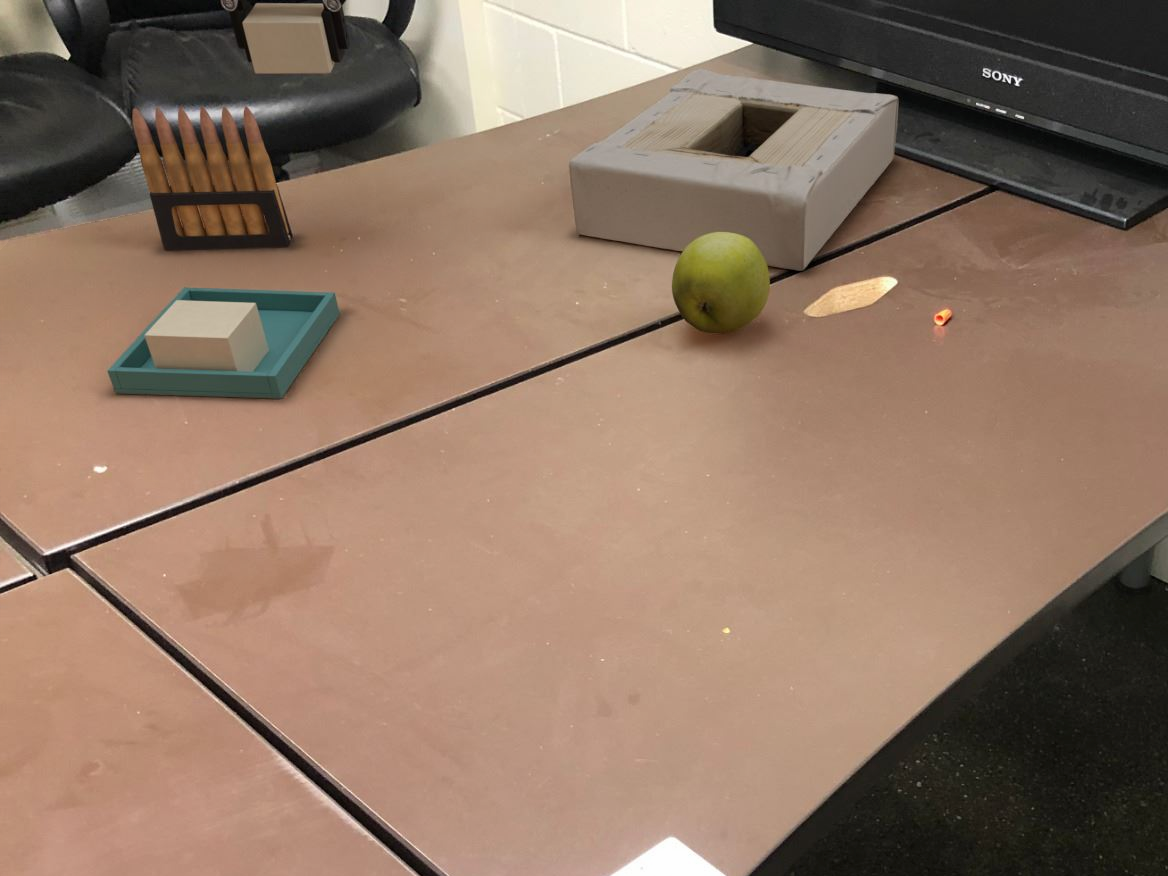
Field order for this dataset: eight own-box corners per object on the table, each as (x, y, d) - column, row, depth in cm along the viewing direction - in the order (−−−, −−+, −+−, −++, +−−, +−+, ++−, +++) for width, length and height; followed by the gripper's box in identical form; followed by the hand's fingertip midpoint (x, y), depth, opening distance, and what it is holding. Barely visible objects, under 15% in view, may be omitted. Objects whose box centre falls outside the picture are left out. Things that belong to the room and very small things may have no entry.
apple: (784, 313, 115) (783, 222, 110) (748, 359, 108) (745, 265, 103) (700, 299, 116) (695, 209, 111) (658, 344, 110) (651, 250, 104)
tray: (115, 393, 99) (106, 370, 98) (190, 308, 111) (183, 286, 109) (281, 398, 100) (275, 375, 99) (340, 313, 111) (334, 292, 110)
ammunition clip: (294, 238, 122) (259, 103, 114) (290, 246, 121) (255, 110, 113) (168, 242, 120) (125, 104, 113) (164, 250, 119) (119, 111, 111)
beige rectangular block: (268, 53, 116) (255, 2, 113) (340, 53, 117) (330, 3, 114) (254, 73, 111) (241, 22, 109) (330, 73, 112) (319, 22, 110)
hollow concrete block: (809, 276, 121) (897, 159, 145) (808, 191, 116) (899, 85, 140) (574, 244, 125) (697, 135, 149) (563, 160, 120) (692, 62, 144)
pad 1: (160, 384, 100) (143, 334, 97) (191, 347, 105) (176, 299, 102) (242, 386, 100) (227, 337, 98) (269, 350, 105) (256, 302, 102)
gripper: (364, -195, 106) (407, 45, 118) (132, -203, 104) (199, 45, 115) (351, -180, 101) (398, 71, 112) (105, -188, 98) (179, 71, 110)
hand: (297, 55), depth 114 cm, fingers closed on beige rectangular block, 6 cm apart
